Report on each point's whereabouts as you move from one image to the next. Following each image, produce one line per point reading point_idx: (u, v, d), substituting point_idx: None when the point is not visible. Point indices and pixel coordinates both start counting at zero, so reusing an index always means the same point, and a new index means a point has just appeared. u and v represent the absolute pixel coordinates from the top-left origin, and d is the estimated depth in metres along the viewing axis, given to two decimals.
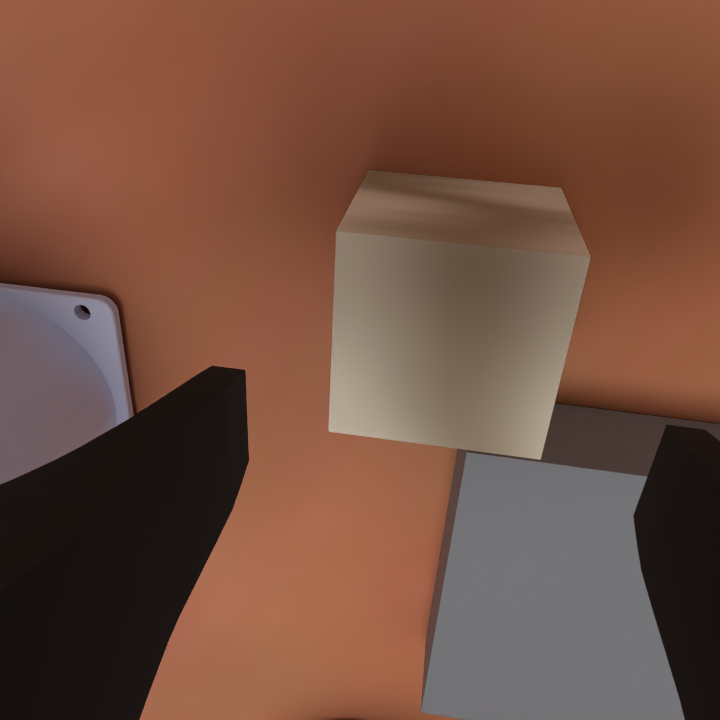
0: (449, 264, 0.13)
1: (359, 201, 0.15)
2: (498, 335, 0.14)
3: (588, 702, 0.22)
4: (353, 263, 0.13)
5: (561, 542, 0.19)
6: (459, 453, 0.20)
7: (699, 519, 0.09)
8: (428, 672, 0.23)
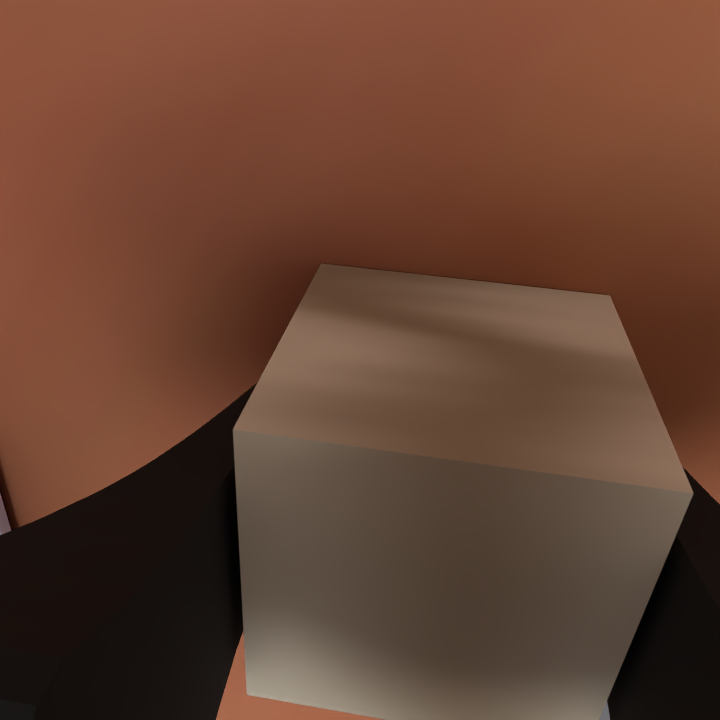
0: (434, 489, 0.07)
1: (290, 342, 0.09)
2: (520, 594, 0.08)
3: None
4: (267, 478, 0.08)
5: None
6: None
7: None
8: None
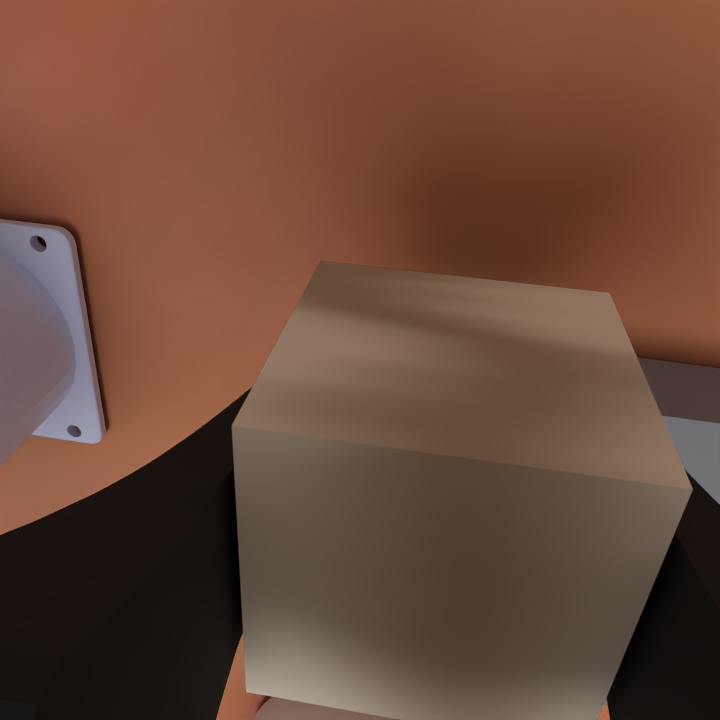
0: (433, 486, 0.07)
1: (289, 339, 0.09)
2: (519, 591, 0.08)
3: None
4: (266, 475, 0.08)
5: None
6: None
7: None
8: None
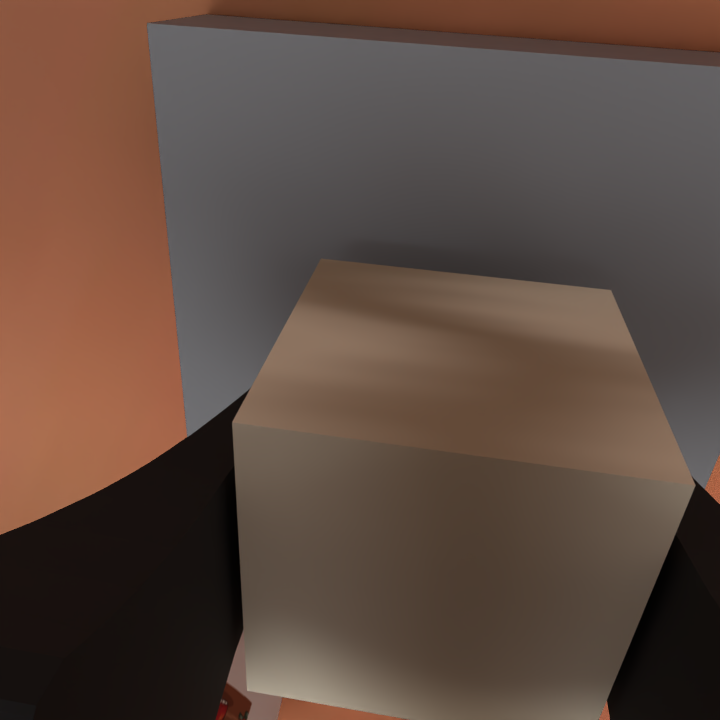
0: (434, 482, 0.07)
1: (290, 336, 0.09)
2: (521, 588, 0.08)
3: None
4: (268, 471, 0.08)
5: (316, 195, 0.13)
6: None
7: None
8: None
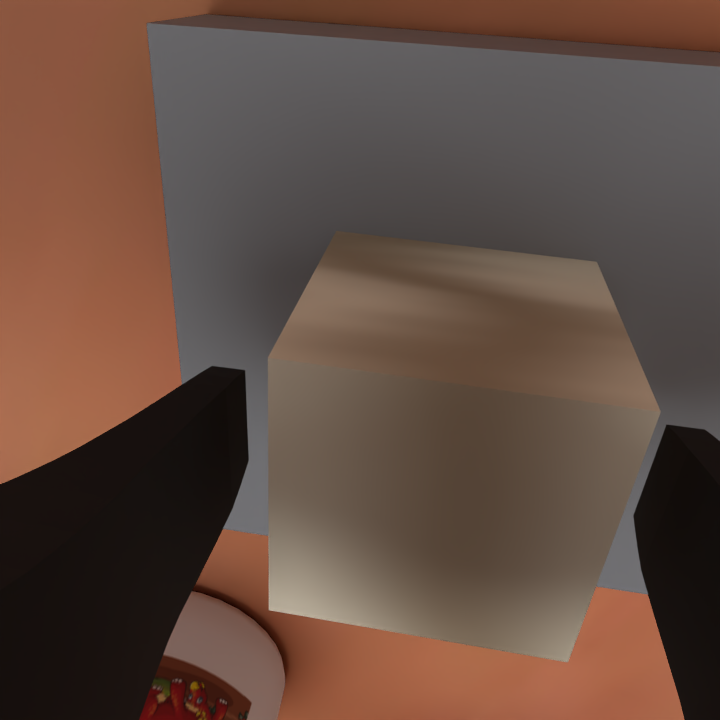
0: (440, 411, 0.09)
1: (313, 292, 0.10)
2: (513, 508, 0.09)
3: None
4: (296, 402, 0.09)
5: (316, 195, 0.13)
6: None
7: (700, 520, 0.09)
8: None
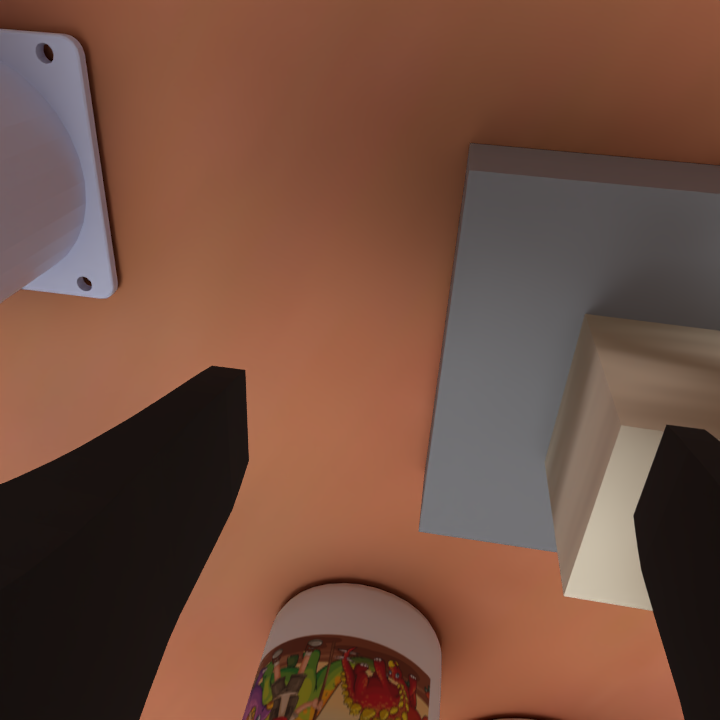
0: None
1: (610, 371, 0.15)
2: None
3: None
4: (632, 454, 0.13)
5: (574, 288, 0.17)
6: (461, 212, 0.19)
7: (700, 520, 0.09)
8: (426, 478, 0.21)
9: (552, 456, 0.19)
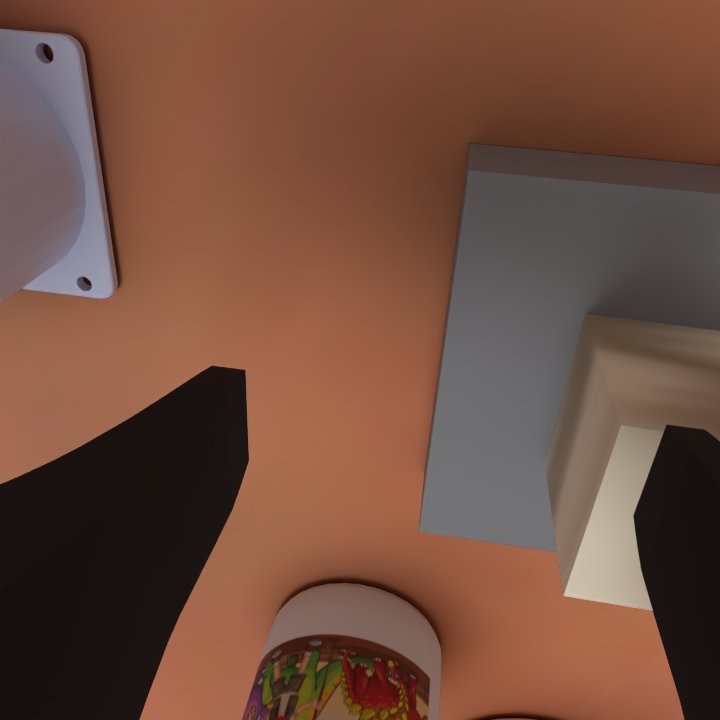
0: None
1: (610, 371, 0.15)
2: None
3: None
4: (632, 454, 0.13)
5: (574, 288, 0.17)
6: None
7: (700, 520, 0.09)
8: (426, 478, 0.21)
9: (552, 456, 0.19)
